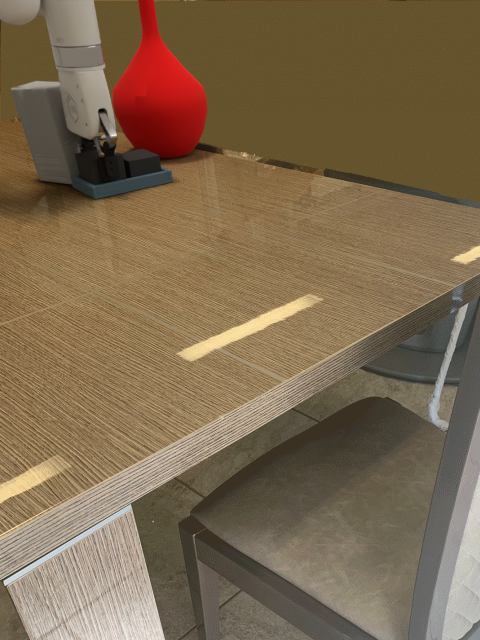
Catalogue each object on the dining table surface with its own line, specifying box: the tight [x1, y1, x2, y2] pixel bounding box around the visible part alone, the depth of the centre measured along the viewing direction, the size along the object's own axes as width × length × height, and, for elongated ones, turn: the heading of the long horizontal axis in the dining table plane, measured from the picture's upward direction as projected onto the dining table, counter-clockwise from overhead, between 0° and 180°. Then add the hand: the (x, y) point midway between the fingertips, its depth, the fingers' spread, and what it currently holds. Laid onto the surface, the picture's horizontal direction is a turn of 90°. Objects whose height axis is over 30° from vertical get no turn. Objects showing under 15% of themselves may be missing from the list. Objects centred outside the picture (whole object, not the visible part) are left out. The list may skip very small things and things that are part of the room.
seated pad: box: [120, 149, 162, 180], centre depth 116 cm, size 6×6×4 cm
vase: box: [111, 0, 209, 159], centre depth 124 cm, size 18×18×30 cm
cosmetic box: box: [10, 80, 82, 185], centre depth 113 cm, size 8×7×16 cm
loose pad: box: [75, 150, 126, 185], centre depth 111 cm, size 6×6×4 cm
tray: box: [70, 165, 174, 200], centre depth 115 cm, size 15×9×2 cm, turn 131°
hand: (102, 174), depth 112 cm, fingers closed on loose pad, 6 cm apart
